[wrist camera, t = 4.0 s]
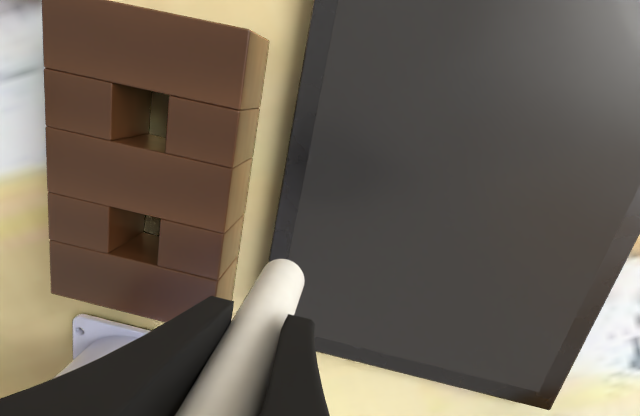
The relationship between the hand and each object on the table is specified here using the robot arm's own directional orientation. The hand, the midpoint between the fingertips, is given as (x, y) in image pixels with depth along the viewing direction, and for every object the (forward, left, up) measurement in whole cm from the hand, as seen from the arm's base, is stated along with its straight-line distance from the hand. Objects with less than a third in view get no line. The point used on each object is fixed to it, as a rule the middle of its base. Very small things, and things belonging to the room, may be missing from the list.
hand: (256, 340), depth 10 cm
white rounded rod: (0, 0, -4) cm, 4 cm away
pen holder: (+1, +8, -10) cm, 13 cm away
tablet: (+4, -6, -10) cm, 12 cm away
